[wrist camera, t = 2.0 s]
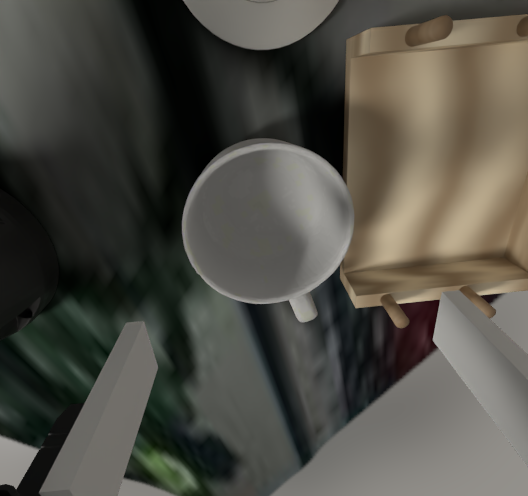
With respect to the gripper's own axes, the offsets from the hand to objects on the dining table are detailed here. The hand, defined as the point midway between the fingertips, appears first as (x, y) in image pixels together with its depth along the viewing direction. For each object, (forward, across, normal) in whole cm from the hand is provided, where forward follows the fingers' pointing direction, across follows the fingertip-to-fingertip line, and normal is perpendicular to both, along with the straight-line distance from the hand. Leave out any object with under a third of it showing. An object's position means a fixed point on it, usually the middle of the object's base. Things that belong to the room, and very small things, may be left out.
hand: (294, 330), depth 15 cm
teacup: (+15, 0, 0) cm, 15 cm away
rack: (+15, +14, +3) cm, 21 cm away
